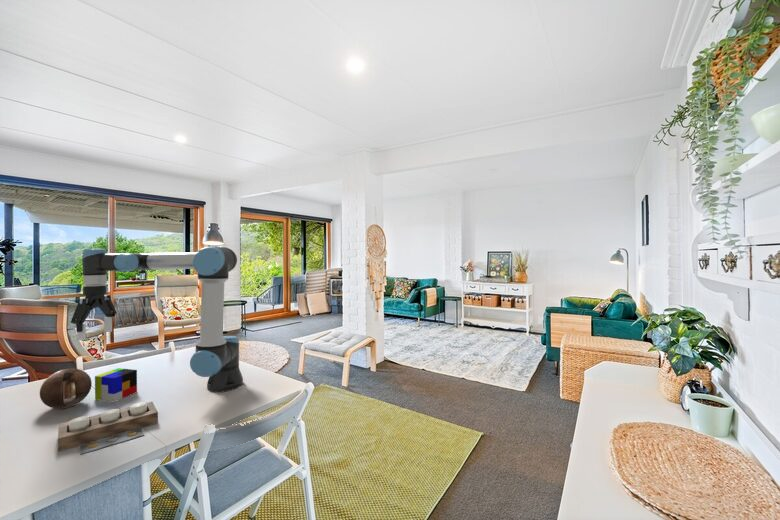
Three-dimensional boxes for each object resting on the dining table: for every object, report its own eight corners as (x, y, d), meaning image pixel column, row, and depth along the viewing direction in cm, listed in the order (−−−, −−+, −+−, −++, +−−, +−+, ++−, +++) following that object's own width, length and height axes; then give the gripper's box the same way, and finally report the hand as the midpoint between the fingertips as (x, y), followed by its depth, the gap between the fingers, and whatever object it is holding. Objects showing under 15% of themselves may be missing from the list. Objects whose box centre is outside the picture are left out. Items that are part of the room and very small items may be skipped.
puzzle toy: (114, 401, 140) (114, 378, 140) (95, 399, 142) (94, 376, 142) (137, 392, 150) (136, 369, 149) (118, 390, 152) (118, 368, 151)
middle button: (118, 417, 122) (118, 407, 122) (120, 422, 118) (120, 412, 118) (100, 421, 118) (100, 412, 118) (101, 427, 115) (101, 417, 115)
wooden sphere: (48, 403, 138) (48, 367, 138) (96, 396, 145) (95, 361, 145) (32, 419, 125) (32, 379, 125) (85, 410, 132) (85, 372, 132)
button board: (152, 411, 131) (152, 401, 131) (161, 430, 118) (161, 419, 118) (58, 436, 114) (58, 424, 114) (57, 461, 100) (56, 448, 100)
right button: (145, 410, 127) (145, 401, 127) (148, 414, 124) (147, 405, 123) (129, 414, 124) (129, 405, 124) (130, 419, 120) (130, 409, 120)
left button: (89, 424, 116) (88, 414, 116) (89, 430, 113) (89, 420, 112) (69, 430, 113) (68, 419, 113) (68, 436, 109) (68, 425, 109)
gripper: (108, 282, 154) (109, 328, 154) (57, 288, 129) (58, 343, 129) (126, 282, 154) (126, 328, 154) (78, 288, 129) (78, 343, 129)
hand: (95, 335), depth 142 cm, fingers open, 13 cm apart
